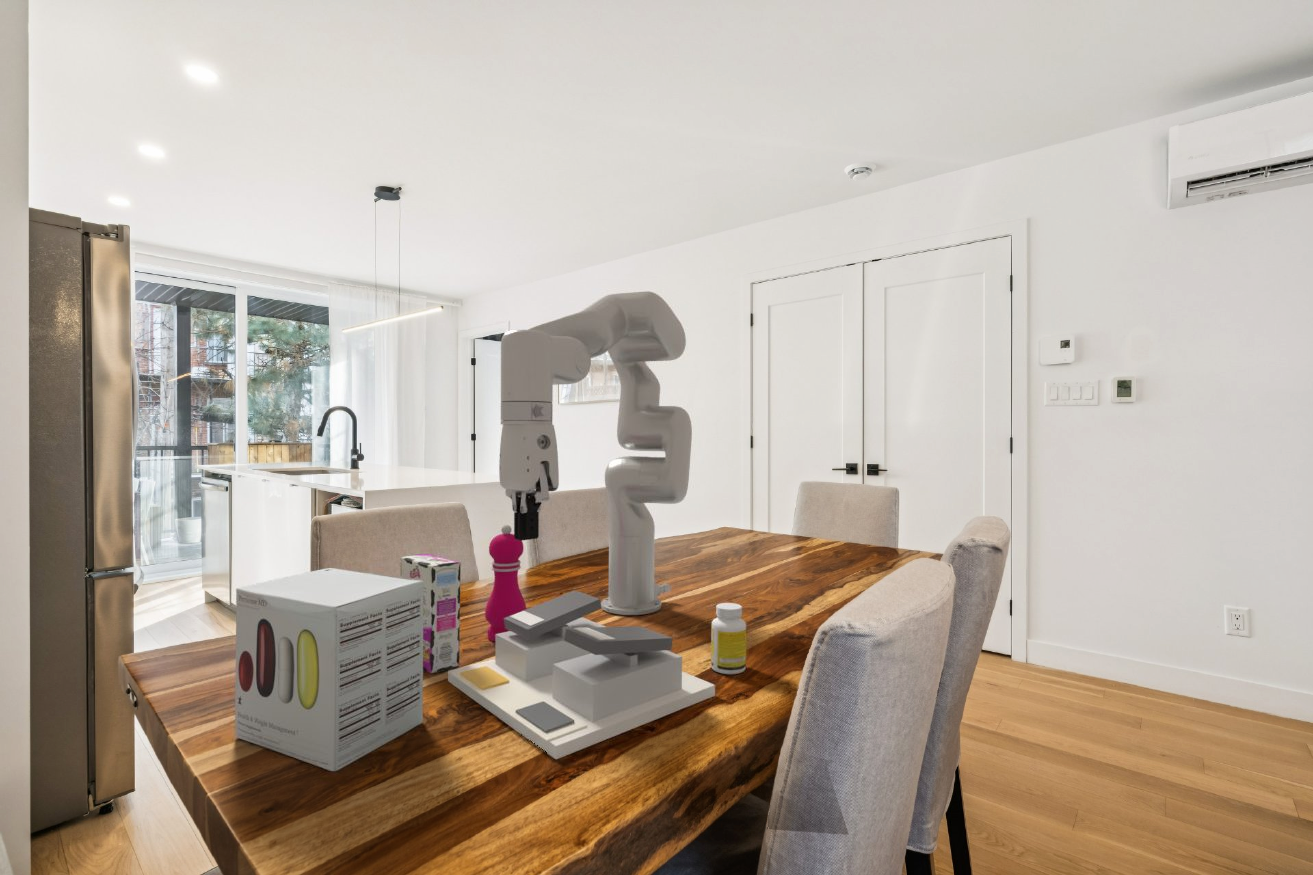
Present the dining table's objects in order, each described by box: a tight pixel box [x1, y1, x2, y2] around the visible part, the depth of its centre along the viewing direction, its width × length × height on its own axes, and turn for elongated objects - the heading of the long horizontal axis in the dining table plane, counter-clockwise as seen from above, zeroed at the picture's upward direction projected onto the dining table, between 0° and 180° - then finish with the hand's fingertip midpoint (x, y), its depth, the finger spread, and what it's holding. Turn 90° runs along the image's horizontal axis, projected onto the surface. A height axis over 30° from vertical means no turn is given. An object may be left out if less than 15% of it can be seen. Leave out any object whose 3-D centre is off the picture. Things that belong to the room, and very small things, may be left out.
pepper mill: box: [484, 524, 527, 643], centre depth 111 cm, size 7×7×20 cm
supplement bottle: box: [710, 602, 747, 675], centre depth 97 cm, size 5×5×10 cm
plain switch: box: [564, 625, 674, 655], centre depth 84 cm, size 13×7×2 cm, turn 132°
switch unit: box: [447, 617, 716, 760], centre depth 89 cm, size 26×29×8 cm
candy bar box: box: [400, 553, 462, 675], centre depth 99 cm, size 11×5×16 cm, turn 47°
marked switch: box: [504, 589, 603, 640], centre depth 96 cm, size 13×7×2 cm, turn 132°
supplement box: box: [234, 567, 424, 772], centre depth 76 cm, size 17×13×18 cm
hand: (526, 538), depth 92 cm, fingers closed
